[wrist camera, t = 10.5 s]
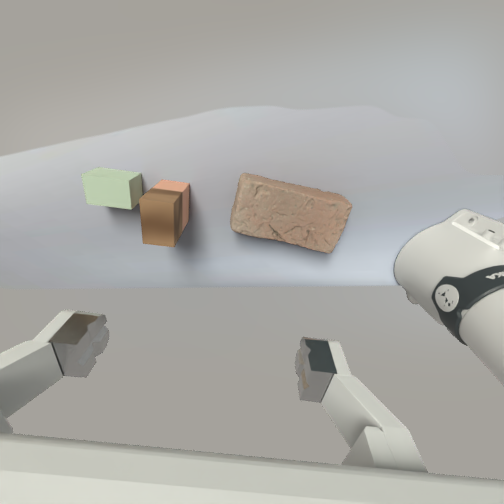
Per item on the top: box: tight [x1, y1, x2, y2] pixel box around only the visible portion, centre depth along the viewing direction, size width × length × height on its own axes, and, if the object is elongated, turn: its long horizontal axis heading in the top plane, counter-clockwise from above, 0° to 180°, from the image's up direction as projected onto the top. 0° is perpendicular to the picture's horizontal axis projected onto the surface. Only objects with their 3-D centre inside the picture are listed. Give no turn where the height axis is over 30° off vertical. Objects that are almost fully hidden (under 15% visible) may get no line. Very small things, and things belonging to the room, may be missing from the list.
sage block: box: [81, 167, 143, 210], centre depth 36 cm, size 6×4×4 cm, turn 82°
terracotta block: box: [153, 180, 189, 232], centre depth 38 cm, size 6×4×4 cm, turn 172°
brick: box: [230, 173, 352, 253], centre depth 38 cm, size 17×8×5 cm, turn 77°
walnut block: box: [139, 188, 182, 247], centre depth 34 cm, size 6×4×4 cm, turn 172°
